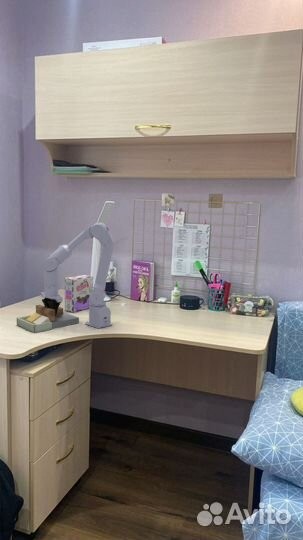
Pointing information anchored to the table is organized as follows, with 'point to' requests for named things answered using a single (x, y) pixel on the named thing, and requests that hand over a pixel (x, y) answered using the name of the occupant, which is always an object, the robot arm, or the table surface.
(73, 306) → the candy box
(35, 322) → the tile ivory
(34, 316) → the tile mustard
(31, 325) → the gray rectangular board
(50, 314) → the scraper
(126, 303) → the table surface
